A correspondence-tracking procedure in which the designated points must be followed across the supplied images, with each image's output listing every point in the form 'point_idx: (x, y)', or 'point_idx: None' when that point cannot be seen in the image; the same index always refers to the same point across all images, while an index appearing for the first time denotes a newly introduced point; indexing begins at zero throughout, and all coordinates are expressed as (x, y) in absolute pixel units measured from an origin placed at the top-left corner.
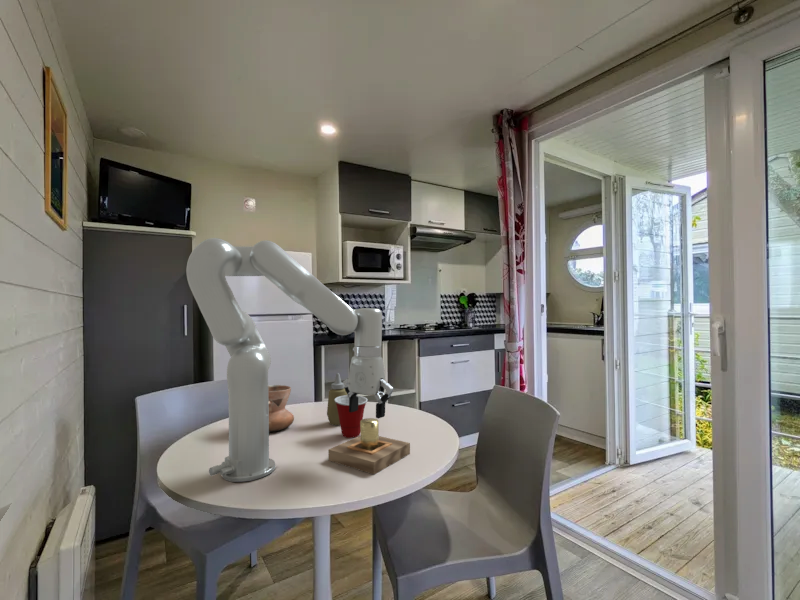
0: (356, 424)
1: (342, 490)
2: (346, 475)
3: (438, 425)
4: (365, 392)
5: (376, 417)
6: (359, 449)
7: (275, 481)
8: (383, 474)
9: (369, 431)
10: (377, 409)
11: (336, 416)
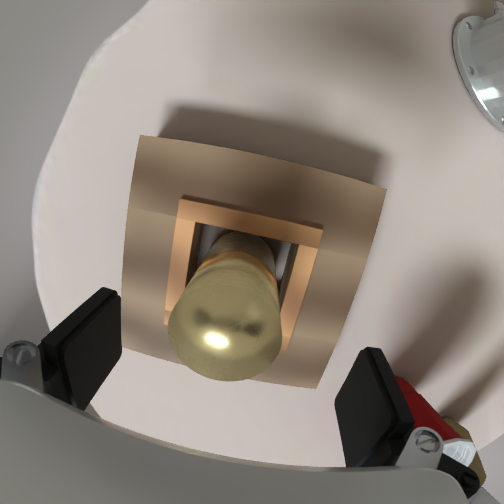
0: None
1: (200, 20)
2: (241, 97)
3: None
4: (94, 447)
5: (110, 290)
6: (254, 220)
7: (413, 23)
8: (131, 154)
9: (203, 272)
10: (71, 315)
11: None
